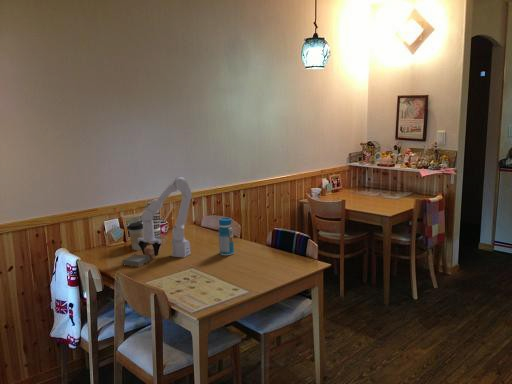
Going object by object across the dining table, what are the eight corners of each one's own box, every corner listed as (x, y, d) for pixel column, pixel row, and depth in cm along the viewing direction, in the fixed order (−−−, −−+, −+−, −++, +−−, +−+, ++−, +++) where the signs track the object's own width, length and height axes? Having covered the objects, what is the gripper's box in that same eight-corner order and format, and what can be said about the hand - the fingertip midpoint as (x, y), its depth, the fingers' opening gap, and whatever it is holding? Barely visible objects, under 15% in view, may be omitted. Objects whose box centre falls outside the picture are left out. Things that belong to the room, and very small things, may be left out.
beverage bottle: (221, 256, 257) (219, 221, 253) (218, 251, 265) (216, 217, 261) (235, 254, 259) (234, 220, 255) (232, 250, 267) (230, 216, 263)
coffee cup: (143, 251, 271) (141, 226, 268) (127, 251, 271) (125, 226, 268) (147, 246, 280) (145, 222, 277) (132, 246, 280) (129, 222, 278)
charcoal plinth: (150, 261, 254) (149, 255, 253) (138, 267, 244) (138, 261, 244) (135, 259, 257) (134, 254, 257) (123, 265, 248) (122, 259, 248)
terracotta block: (156, 256, 260) (155, 246, 259) (151, 259, 256) (151, 249, 255) (149, 256, 262) (149, 245, 261) (145, 258, 258) (144, 248, 257)
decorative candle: (165, 240, 291) (162, 201, 286) (154, 244, 283) (151, 204, 279) (154, 238, 296) (151, 200, 291) (144, 242, 288) (140, 203, 284)
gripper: (133, 232, 255) (135, 255, 258) (155, 234, 250) (157, 258, 252) (141, 228, 262) (143, 252, 264) (162, 230, 256) (164, 254, 259)
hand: (150, 254), depth 259 cm, fingers open, 7 cm apart
